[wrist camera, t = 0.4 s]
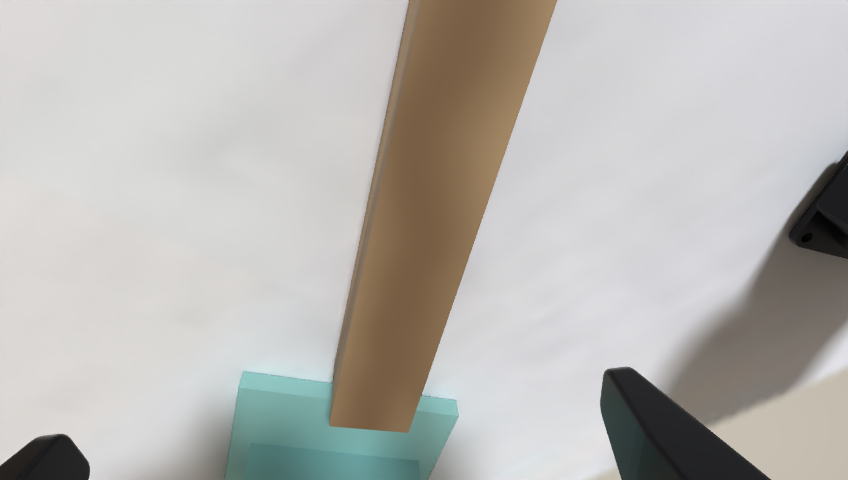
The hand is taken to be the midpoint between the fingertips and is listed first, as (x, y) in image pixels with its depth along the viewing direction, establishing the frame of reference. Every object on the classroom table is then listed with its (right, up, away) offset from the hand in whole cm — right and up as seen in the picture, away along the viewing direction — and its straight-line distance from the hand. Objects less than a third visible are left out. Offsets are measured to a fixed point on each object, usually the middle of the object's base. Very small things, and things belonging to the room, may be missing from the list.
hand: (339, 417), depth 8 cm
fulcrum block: (-4, -9, +20) cm, 22 cm away
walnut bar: (+1, +4, +12) cm, 13 cm away
